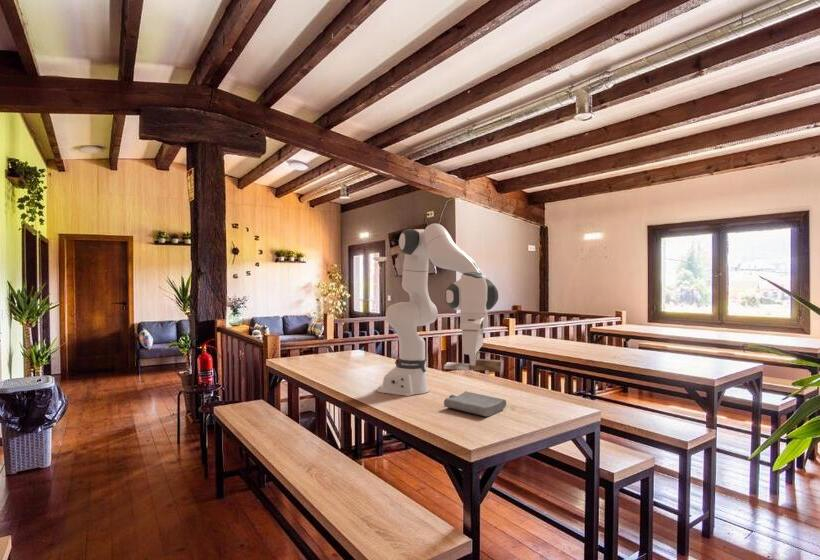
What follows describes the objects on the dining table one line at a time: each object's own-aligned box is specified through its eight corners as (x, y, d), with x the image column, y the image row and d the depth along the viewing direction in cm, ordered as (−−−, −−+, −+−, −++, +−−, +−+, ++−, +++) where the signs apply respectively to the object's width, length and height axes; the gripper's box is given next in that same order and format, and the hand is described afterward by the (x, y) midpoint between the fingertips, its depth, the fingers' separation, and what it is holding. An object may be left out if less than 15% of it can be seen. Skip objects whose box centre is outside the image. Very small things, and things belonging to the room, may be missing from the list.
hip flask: (483, 408, 161) (438, 397, 174) (483, 419, 161) (438, 408, 174) (506, 398, 173) (462, 389, 186) (506, 409, 173) (462, 399, 186)
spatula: (501, 369, 151) (501, 359, 151) (499, 372, 145) (500, 362, 145) (447, 365, 156) (447, 355, 156) (443, 368, 150) (444, 358, 150)
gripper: (469, 318, 161) (469, 357, 161) (458, 324, 141) (459, 369, 141) (487, 318, 159) (487, 358, 159) (479, 325, 139) (479, 370, 140)
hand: (473, 364), depth 150 cm, fingers closed on spatula, 2 cm apart
